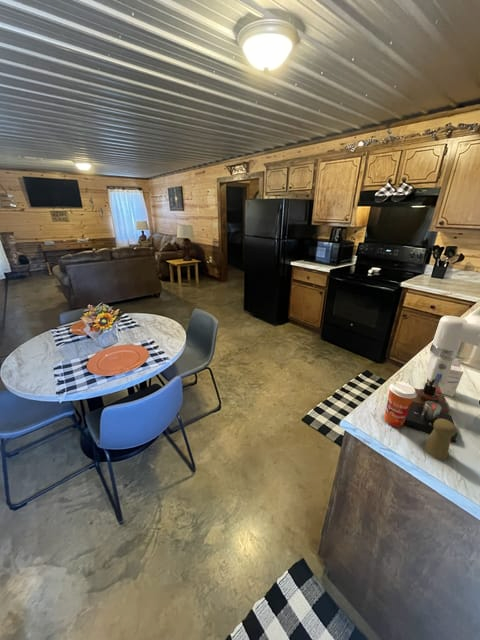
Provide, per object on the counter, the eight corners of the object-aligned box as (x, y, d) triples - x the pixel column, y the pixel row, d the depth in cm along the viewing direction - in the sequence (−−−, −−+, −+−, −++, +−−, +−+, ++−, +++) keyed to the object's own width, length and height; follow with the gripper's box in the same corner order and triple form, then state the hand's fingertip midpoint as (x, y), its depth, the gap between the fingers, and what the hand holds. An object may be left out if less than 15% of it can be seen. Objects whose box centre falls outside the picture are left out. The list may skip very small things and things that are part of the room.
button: (432, 396, 100) (433, 392, 99) (433, 402, 97) (435, 398, 96) (421, 393, 101) (422, 389, 100) (422, 398, 98) (423, 395, 98)
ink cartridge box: (428, 391, 107) (439, 359, 101) (426, 384, 111) (436, 353, 105) (454, 397, 103) (466, 364, 98) (450, 390, 108) (462, 358, 102)
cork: (423, 453, 78) (434, 424, 74) (423, 439, 83) (433, 412, 79) (448, 463, 75) (460, 434, 71) (446, 448, 80) (458, 420, 76)
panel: (448, 421, 91) (451, 414, 89) (454, 442, 82) (458, 434, 81) (402, 408, 97) (404, 401, 95) (403, 426, 88) (406, 418, 87)
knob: (420, 410, 91) (424, 398, 89) (435, 415, 89) (440, 402, 87) (422, 419, 87) (426, 406, 85) (438, 423, 86) (443, 410, 84)
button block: (442, 400, 101) (445, 391, 100) (447, 416, 93) (450, 407, 92) (406, 390, 106) (409, 382, 105) (408, 405, 98) (411, 396, 97)
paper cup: (377, 419, 91) (386, 386, 86) (386, 410, 96) (395, 377, 90) (401, 433, 85) (412, 398, 80) (410, 422, 90) (421, 388, 85)
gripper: (461, 363, 84) (443, 409, 91) (452, 344, 96) (437, 386, 103) (433, 357, 87) (418, 402, 94) (428, 340, 99) (414, 380, 106)
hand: (428, 393), depth 98 cm, fingers closed
